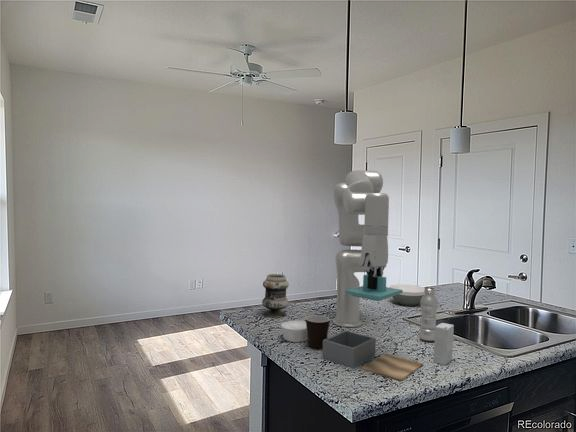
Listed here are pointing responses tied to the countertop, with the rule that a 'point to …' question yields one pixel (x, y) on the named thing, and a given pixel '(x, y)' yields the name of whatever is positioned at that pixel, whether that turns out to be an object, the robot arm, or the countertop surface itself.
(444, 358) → the skincare box
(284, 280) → the apothecary jar
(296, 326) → the ramekin
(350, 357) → the tub
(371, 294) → the lid
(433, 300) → the plastic bottle
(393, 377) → the wooden board
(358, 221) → the robot arm
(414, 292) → the bowl
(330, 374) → the countertop surface
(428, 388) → the countertop surface
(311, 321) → the coffee mug
